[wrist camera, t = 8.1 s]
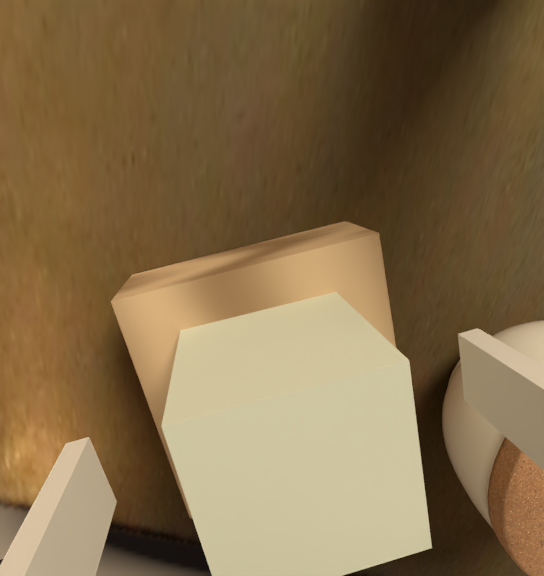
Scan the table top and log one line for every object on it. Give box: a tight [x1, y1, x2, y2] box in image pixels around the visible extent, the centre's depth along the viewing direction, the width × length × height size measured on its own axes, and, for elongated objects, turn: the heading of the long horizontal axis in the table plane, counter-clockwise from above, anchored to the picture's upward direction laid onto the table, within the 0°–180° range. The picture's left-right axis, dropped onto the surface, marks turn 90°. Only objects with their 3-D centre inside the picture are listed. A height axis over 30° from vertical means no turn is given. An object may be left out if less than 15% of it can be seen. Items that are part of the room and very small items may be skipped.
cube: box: [161, 292, 432, 576], centre depth 13 cm, size 6×6×6 cm
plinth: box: [111, 221, 396, 518], centre depth 18 cm, size 10×10×4 cm
